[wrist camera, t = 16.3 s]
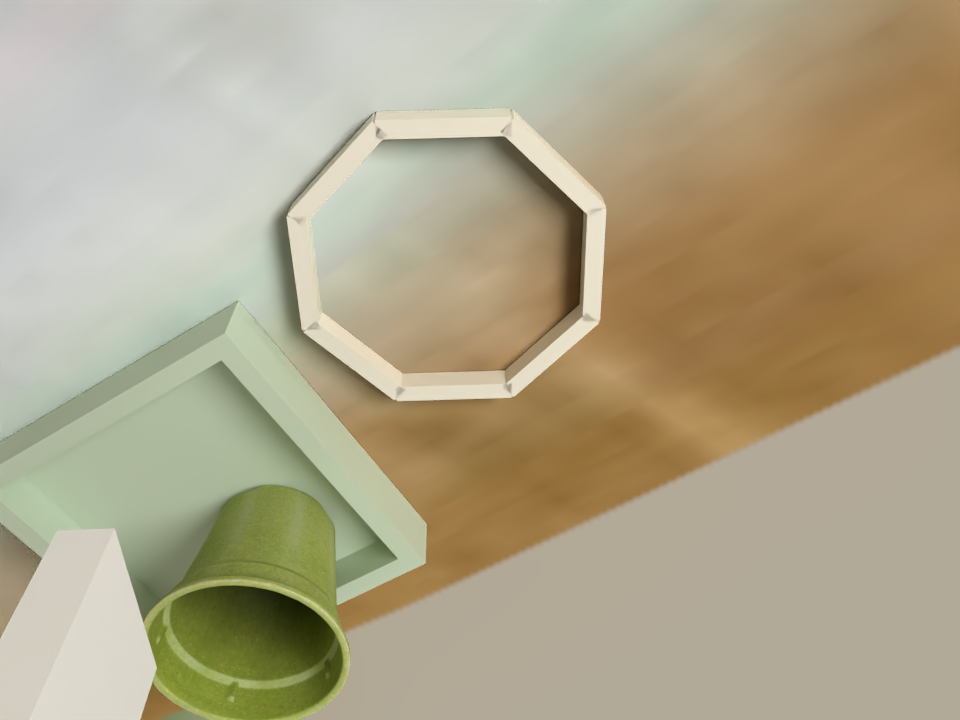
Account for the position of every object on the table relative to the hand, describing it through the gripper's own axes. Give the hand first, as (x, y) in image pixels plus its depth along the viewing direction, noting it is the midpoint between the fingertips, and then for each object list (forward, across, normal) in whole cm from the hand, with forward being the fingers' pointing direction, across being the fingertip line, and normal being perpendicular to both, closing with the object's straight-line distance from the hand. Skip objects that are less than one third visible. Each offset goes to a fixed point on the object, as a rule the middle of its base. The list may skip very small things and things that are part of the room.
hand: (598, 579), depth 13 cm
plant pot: (+28, -12, -23) cm, 38 cm away
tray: (+28, -15, -21) cm, 39 cm away
